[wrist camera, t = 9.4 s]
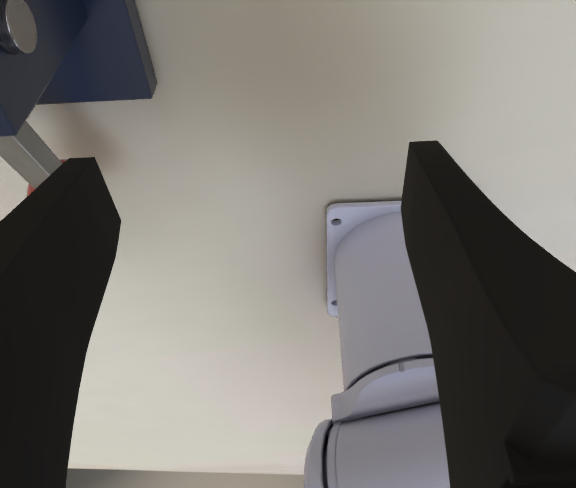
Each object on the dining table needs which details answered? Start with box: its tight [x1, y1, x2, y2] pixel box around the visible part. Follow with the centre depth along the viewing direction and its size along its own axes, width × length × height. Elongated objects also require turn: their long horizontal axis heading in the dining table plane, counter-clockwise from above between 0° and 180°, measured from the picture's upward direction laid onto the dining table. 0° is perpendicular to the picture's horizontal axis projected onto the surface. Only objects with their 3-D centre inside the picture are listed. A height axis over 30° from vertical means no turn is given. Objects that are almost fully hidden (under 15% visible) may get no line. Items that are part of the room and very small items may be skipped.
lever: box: [0, 121, 66, 196], centre depth 18 cm, size 12×3×3 cm, turn 5°
